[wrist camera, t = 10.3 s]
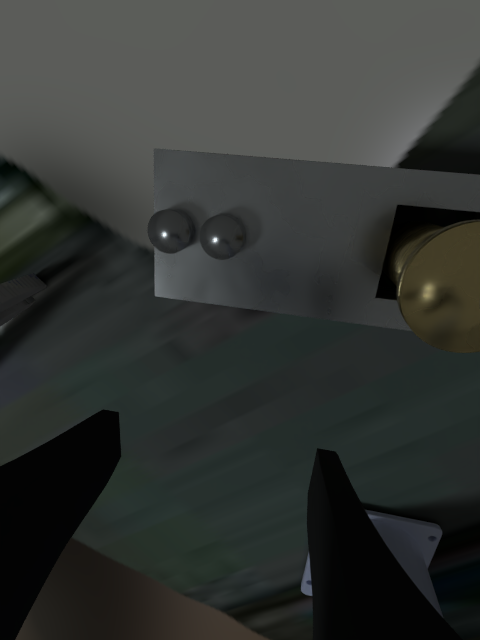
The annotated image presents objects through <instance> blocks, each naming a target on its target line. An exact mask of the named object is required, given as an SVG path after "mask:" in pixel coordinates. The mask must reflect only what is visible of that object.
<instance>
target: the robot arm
mask: <svg viewBox="0 0 480 640" xmlns="http://www.w3.org/2000/svg"><path fill="white" fill-rule="evenodd" d="M120 457H121V445H120V427H119V412H114V411H109V410H101V411H100V412H98V413H96V414H94V415H93V416H91V417H89V418H87V419H86V420H84V421H82V422H81V423H79V424H77V425H76V426H74V427H72V428H71V429H69V430H67V431H66V432H64V433H62V434H60V435H59V436H57V437H55V438H54V439H52V440H50V441H48V442H47V443H45V444H43V445H41V446H39V447H37V448H35V449H34V450H32V451H30V452H28V453H26V454H24V455H22V456H20V457H19V458H17V459H15V460H13V461H10V462H8V463H6V464H4V465H2V466H0V640H15V639H16V637H17V635H18V633H19V631H20V629H21V627H22V625H23V623H24V621H25V619H26V617H27V615H28V613H29V611H30V609H31V607H32V606H33V604H34V602H35V600H36V598H37V596H38V594H39V592H40V590H41V588H42V586H43V585H44V583H45V581H46V579H47V577H48V575H49V574H50V572H51V570H52V568H53V567H54V565H55V563H56V561H57V559H58V558H59V556H60V554H61V552H62V551H63V549H64V548H65V546H66V544H67V543H68V541H69V540H70V538H71V537H72V535H73V534H74V532H75V531H76V529H77V528H78V526H79V525H80V523H81V522H82V520H83V519H84V517H85V516H86V515H87V513H88V512H89V510H90V509H91V507H92V506H93V504H94V503H95V501H96V500H97V498H98V497H99V495H100V494H101V492H102V491H103V489H104V488H105V486H106V484H107V483H108V481H109V479H110V477H111V475H112V474H113V472H114V470H115V468H116V466H117V464H118V462H119V459H120ZM307 531H308V545H309V553H308V557H307V562H306V566H305V570H304V575H303V579H302V583H301V591H302V592H303V593H304V594H306V595H310V596H312V598H313V640H462V639H461V638H460V636H459V635H458V634H457V633H456V632H455V631H454V630H453V629H452V628H451V627H450V625H449V624H448V623H447V622H446V621H445V620H444V619H443V616H442V613H441V609H440V606H439V603H438V600H437V597H436V594H435V591H434V588H433V585H432V582H431V578H430V575H429V572H428V567H429V564H430V562H431V560H432V557H433V555H434V553H435V550H436V548H437V546H438V543H439V541H440V538H441V536H442V530H441V528H440V526H439V525H438V524H435V523H430V522H425V521H420V520H415V519H410V518H405V517H400V516H395V515H390V514H385V513H380V512H375V511H370V510H365V509H364V507H363V505H362V504H361V502H360V500H359V498H358V496H357V494H356V492H355V491H354V489H353V487H352V485H351V483H350V481H349V478H348V476H347V474H346V472H345V470H344V468H343V466H342V463H341V461H340V459H339V456H338V454H337V453H336V452H335V451H329V450H324V449H318V448H317V452H316V457H315V462H314V466H313V471H312V476H311V481H310V486H309V490H308V506H307Z"/></svg>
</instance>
